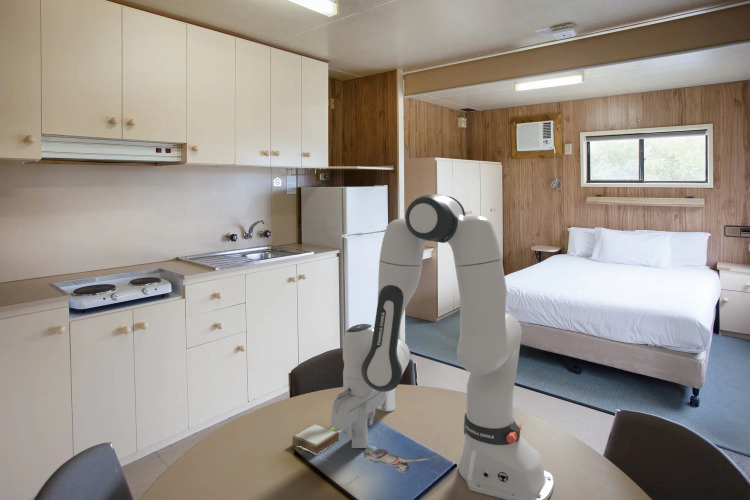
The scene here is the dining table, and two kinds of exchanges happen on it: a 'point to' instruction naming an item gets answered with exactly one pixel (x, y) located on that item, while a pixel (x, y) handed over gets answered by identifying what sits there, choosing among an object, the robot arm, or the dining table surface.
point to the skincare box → (360, 429)
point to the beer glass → (388, 402)
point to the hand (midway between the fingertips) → (359, 430)
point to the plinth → (315, 438)
